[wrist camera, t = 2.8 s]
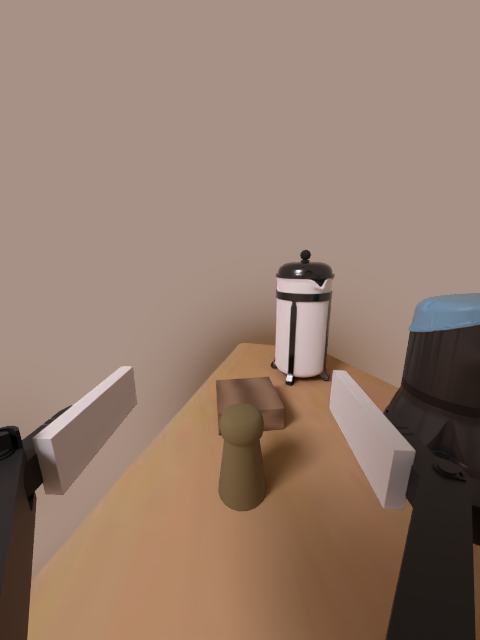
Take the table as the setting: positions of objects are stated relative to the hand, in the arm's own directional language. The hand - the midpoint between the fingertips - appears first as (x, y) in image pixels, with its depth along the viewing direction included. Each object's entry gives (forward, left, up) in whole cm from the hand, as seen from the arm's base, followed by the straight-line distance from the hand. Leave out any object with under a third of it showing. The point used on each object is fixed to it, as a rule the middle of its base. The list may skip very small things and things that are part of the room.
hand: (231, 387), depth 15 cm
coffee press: (-20, -40, -20) cm, 49 cm away
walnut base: (-5, -25, -20) cm, 32 cm away
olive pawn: (-2, -10, -20) cm, 22 cm away
